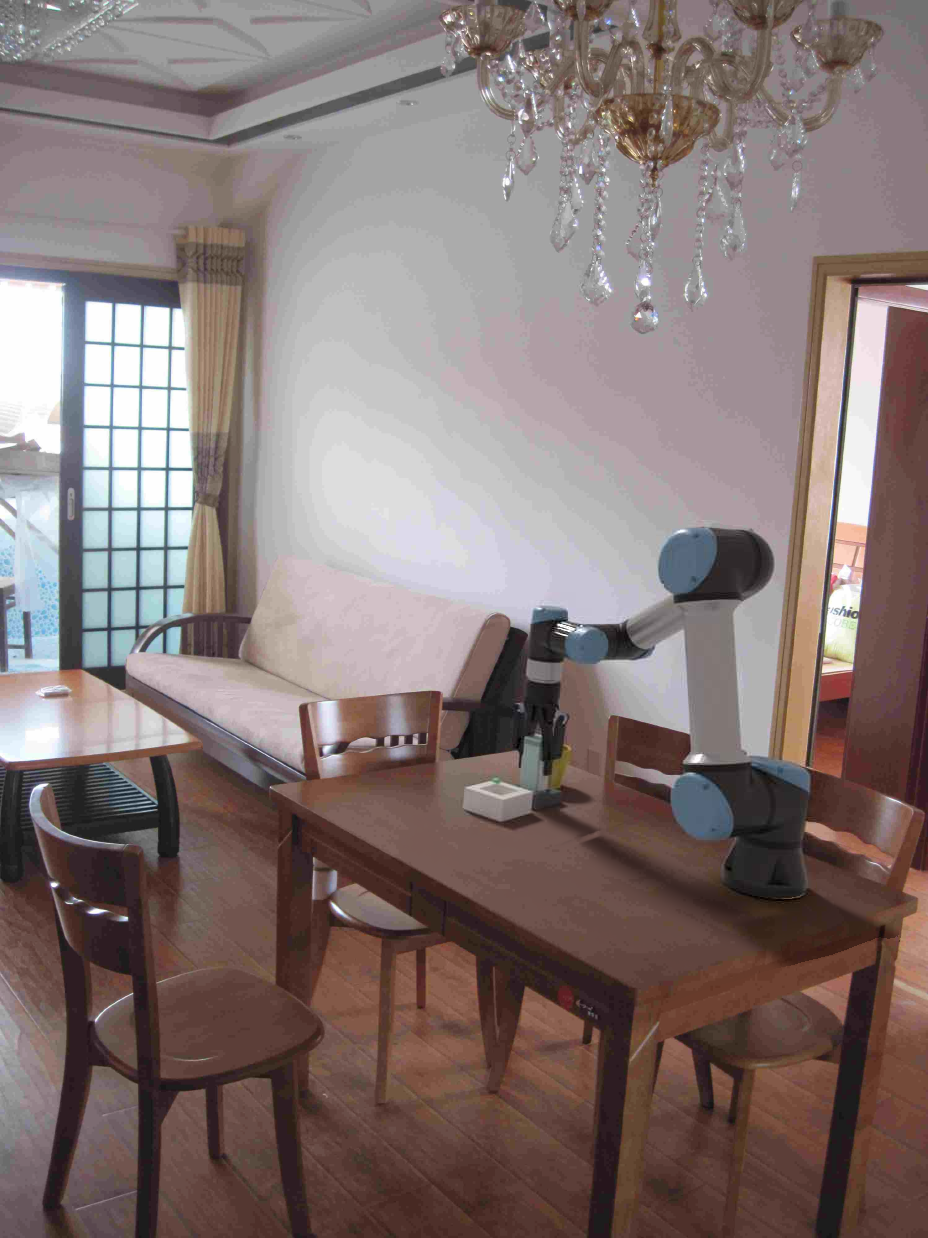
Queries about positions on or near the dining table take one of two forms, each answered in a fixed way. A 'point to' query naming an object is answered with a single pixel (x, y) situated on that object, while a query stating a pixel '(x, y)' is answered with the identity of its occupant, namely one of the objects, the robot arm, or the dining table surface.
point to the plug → (531, 763)
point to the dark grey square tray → (545, 798)
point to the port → (497, 800)
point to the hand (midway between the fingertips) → (533, 786)
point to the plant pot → (559, 768)
